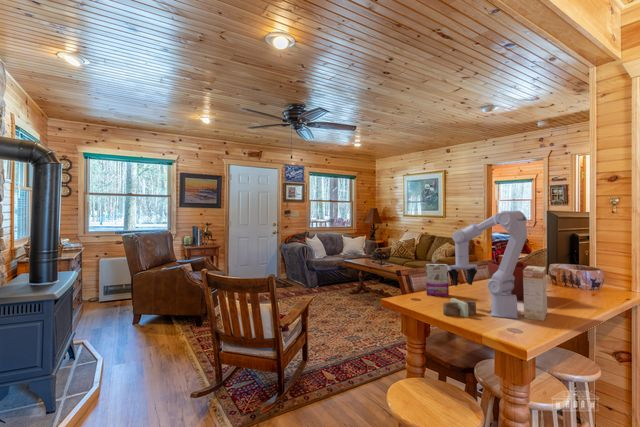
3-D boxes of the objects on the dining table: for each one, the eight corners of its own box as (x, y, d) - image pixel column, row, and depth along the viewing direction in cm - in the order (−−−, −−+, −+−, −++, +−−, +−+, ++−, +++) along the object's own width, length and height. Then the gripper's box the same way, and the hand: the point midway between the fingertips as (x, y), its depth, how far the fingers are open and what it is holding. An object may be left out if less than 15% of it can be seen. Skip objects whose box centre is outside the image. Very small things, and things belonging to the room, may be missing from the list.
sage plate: (450, 310, 145) (450, 298, 145) (454, 310, 145) (453, 298, 145) (464, 317, 135) (464, 304, 135) (468, 317, 135) (468, 303, 135)
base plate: (473, 312, 142) (472, 300, 142) (476, 313, 140) (475, 301, 140) (443, 314, 139) (443, 302, 139) (446, 315, 137) (445, 303, 137)
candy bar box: (448, 294, 175) (447, 263, 176) (448, 296, 171) (448, 265, 171) (426, 293, 179) (425, 263, 179) (426, 295, 174) (425, 264, 174)
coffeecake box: (528, 309, 145) (527, 265, 145) (548, 312, 140) (546, 266, 140) (523, 318, 133) (522, 270, 133) (544, 321, 129) (543, 271, 129)
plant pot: (547, 302, 157) (546, 267, 157) (507, 302, 157) (506, 267, 157) (523, 293, 176) (522, 261, 176) (487, 293, 176) (486, 262, 176)
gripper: (470, 254, 159) (471, 282, 159) (443, 255, 157) (443, 284, 157) (480, 256, 152) (480, 285, 152) (451, 257, 150) (452, 287, 150)
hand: (462, 285), depth 154 cm, fingers open, 7 cm apart
